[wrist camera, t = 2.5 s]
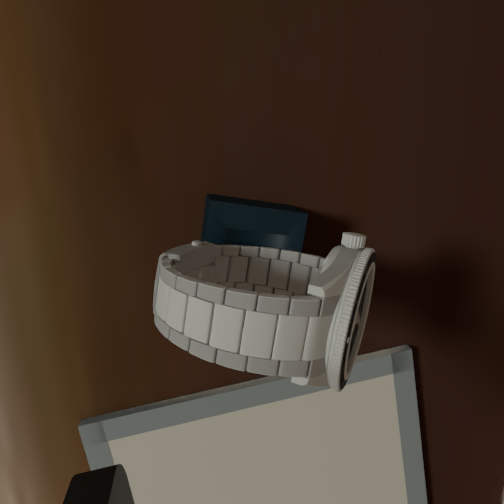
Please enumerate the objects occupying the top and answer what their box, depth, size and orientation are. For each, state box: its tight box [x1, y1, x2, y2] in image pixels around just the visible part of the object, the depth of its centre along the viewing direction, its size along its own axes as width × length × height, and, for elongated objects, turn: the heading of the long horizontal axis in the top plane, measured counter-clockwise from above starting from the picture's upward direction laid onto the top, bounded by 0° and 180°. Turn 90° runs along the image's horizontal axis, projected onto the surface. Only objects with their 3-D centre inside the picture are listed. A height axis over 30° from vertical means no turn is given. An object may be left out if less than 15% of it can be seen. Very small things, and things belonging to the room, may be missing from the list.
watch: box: [153, 194, 376, 392], centre depth 18 cm, size 6×8×11 cm
